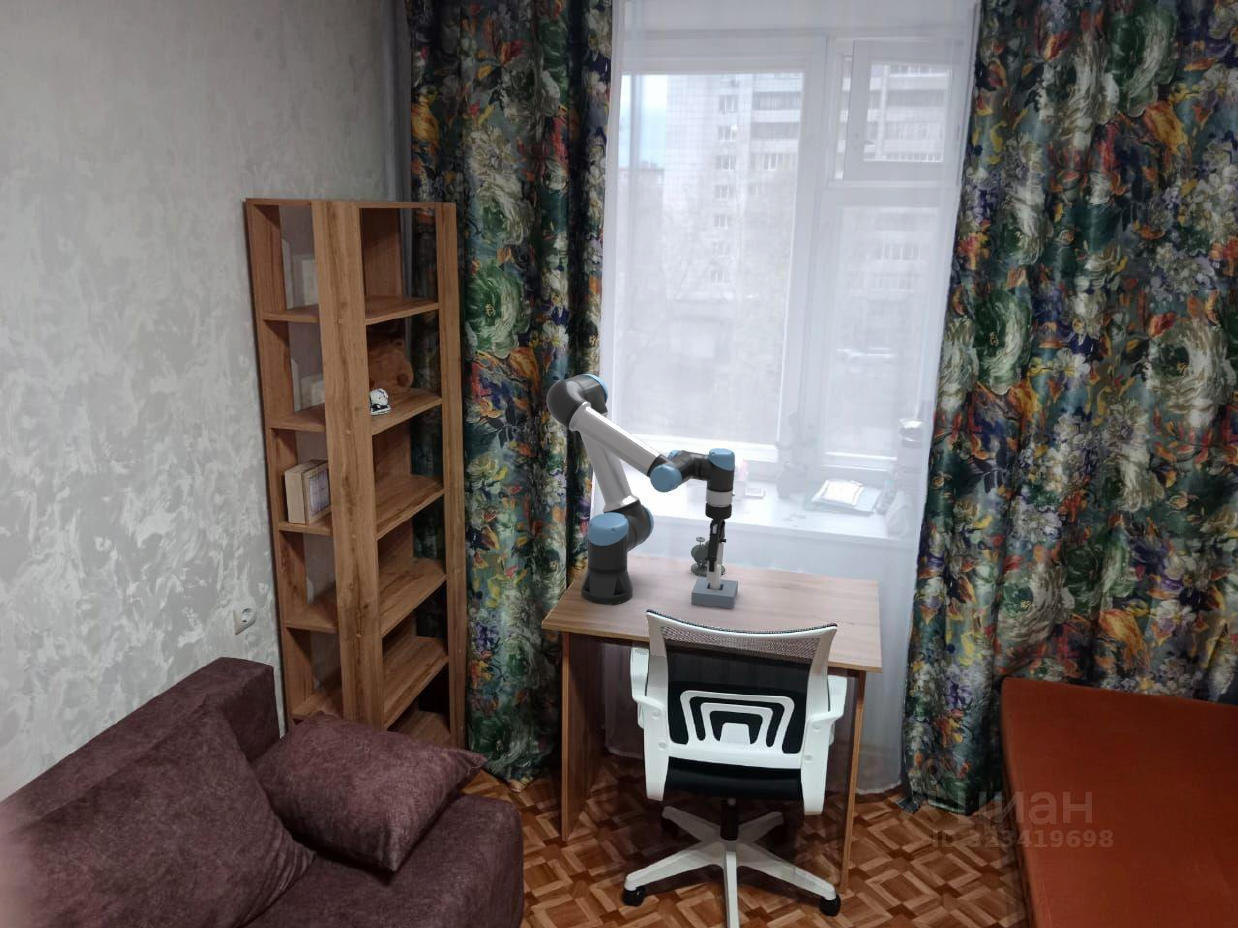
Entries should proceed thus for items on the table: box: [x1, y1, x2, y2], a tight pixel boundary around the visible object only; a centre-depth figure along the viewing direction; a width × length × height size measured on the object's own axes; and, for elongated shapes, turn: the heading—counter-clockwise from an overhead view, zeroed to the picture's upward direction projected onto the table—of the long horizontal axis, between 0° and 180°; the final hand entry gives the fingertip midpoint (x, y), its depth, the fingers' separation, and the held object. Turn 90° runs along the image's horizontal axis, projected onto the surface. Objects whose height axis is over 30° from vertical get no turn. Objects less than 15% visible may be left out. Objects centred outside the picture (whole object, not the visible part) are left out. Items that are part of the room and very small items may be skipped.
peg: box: [710, 564, 722, 590], centre depth 268 cm, size 3×3×10 cm
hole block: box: [690, 576, 739, 609], centre depth 269 cm, size 12×12×4 cm
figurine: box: [690, 536, 726, 578], centre depth 288 cm, size 11×11×12 cm
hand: (714, 572), depth 268 cm, fingers open, 13 cm apart
